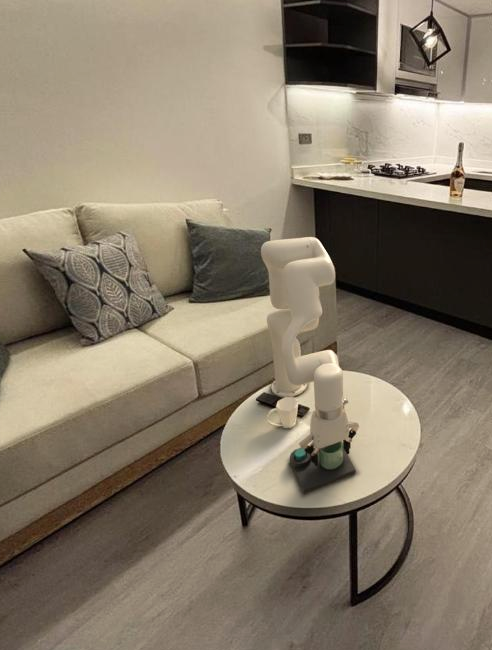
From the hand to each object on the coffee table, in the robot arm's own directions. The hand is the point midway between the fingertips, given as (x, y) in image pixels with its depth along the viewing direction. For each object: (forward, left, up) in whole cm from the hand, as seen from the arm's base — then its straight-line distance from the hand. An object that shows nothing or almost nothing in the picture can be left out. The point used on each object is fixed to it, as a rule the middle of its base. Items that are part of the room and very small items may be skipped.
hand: (330, 456), depth 116 cm
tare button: (-4, -7, 0) cm, 9 cm away
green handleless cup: (0, 0, -2) cm, 2 cm away
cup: (-22, -7, -3) cm, 24 cm away
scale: (0, -2, -3) cm, 4 cm away
